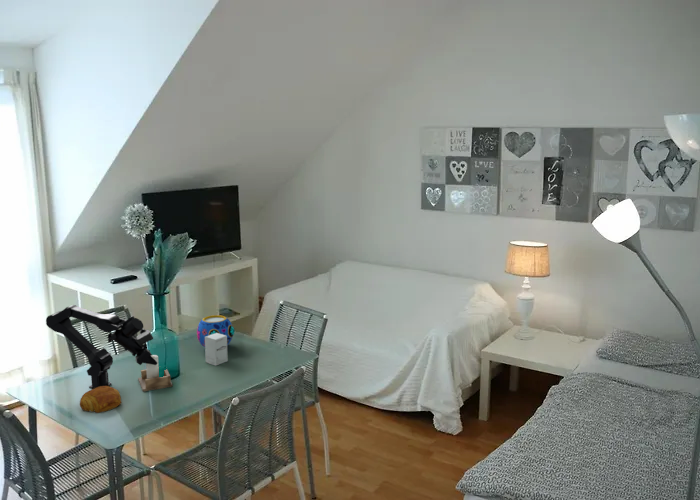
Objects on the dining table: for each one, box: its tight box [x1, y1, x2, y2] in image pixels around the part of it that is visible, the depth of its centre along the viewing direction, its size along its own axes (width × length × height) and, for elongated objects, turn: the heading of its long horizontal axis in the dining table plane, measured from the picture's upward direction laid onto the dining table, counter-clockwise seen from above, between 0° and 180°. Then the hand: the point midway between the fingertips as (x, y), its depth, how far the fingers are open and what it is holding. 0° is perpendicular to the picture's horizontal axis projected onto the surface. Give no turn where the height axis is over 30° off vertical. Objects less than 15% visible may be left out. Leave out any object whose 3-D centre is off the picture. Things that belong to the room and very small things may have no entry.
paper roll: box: [145, 354, 160, 379], centre depth 267 cm, size 5×5×10 cm
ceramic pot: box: [196, 314, 235, 348], centre depth 309 cm, size 18×18×15 cm
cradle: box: [137, 368, 173, 392], centre depth 268 cm, size 12×13×4 cm
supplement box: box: [204, 333, 229, 367], centre depth 291 cm, size 7×7×13 cm
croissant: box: [79, 385, 122, 414], centre depth 247 cm, size 14×16×8 cm
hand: (155, 361), depth 267 cm, fingers closed on paper roll, 5 cm apart
